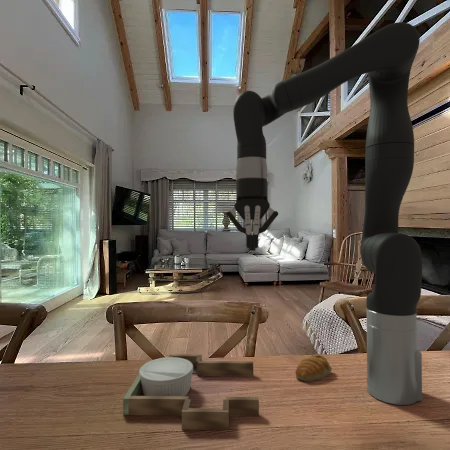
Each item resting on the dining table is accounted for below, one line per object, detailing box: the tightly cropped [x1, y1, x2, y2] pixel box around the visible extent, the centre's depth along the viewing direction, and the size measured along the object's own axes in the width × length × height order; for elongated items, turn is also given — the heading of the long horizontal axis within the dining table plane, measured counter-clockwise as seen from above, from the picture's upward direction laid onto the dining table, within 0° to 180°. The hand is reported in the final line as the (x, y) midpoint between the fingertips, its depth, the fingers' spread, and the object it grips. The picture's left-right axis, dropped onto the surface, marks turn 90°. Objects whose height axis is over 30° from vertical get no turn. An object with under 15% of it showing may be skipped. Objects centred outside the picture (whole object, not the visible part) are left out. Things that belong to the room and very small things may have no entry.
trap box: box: [122, 353, 260, 431], centre depth 68 cm, size 25×25×3 cm
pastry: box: [295, 354, 332, 382], centre depth 76 cm, size 9×7×4 cm
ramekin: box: [138, 356, 193, 396], centre depth 68 cm, size 11×11×5 cm
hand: (252, 250), depth 78 cm, fingers closed
